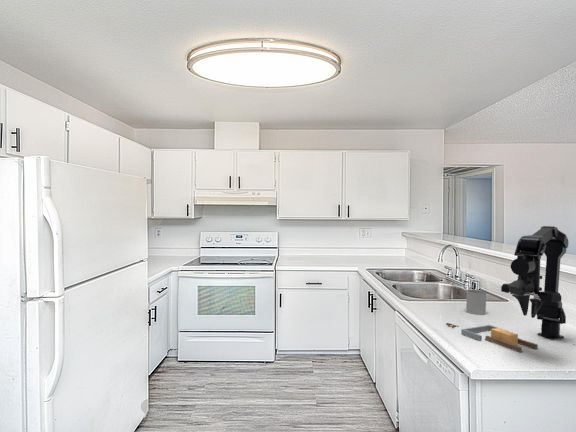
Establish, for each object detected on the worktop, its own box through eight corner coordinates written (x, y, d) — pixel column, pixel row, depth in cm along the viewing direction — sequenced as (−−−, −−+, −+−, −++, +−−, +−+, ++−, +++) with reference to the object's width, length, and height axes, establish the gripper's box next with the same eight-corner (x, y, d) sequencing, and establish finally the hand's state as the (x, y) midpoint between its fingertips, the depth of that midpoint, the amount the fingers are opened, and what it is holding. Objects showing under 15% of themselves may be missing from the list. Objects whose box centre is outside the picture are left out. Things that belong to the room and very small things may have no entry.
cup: (486, 315, 190) (487, 294, 190) (467, 313, 192) (467, 292, 192) (484, 311, 198) (484, 290, 198) (465, 309, 200) (466, 289, 200)
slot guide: (502, 336, 159) (502, 333, 159) (537, 348, 147) (537, 344, 146) (485, 339, 155) (485, 336, 155) (519, 352, 143) (519, 348, 143)
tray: (489, 329, 168) (489, 324, 168) (508, 336, 160) (508, 331, 160) (461, 334, 162) (461, 329, 162) (480, 341, 154) (480, 335, 154)
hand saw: (408, 315, 190) (408, 314, 190) (415, 314, 192) (415, 313, 192) (452, 329, 169) (452, 327, 169) (460, 327, 172) (460, 326, 172)
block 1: (498, 338, 158) (498, 327, 158) (507, 341, 154) (507, 330, 154) (490, 339, 156) (491, 329, 156) (499, 342, 153) (500, 332, 153)
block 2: (507, 341, 154) (507, 331, 154) (517, 344, 151) (517, 334, 150) (500, 342, 153) (500, 332, 152) (509, 346, 149) (510, 335, 149)
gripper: (491, 269, 149) (489, 312, 150) (541, 278, 132) (539, 326, 133) (512, 268, 154) (510, 309, 154) (563, 276, 137) (561, 322, 137)
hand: (529, 316), depth 144 cm, fingers open, 3 cm apart
